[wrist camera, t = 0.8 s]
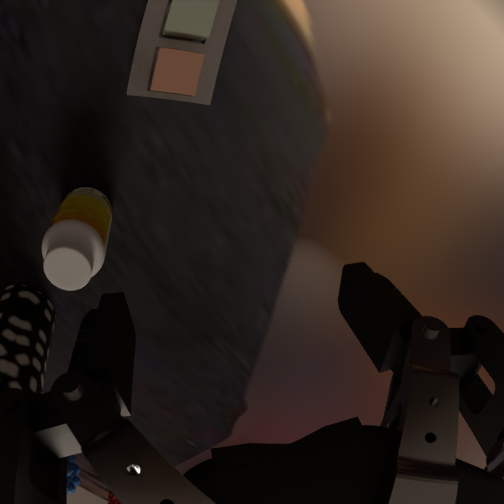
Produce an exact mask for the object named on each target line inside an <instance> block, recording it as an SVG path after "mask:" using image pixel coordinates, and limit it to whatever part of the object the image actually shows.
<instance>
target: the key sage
mask: <svg viewBox="0 0 504 504" xmlns="http://www.w3.org/2000/svg"><path fill="white" fill-rule="evenodd" d="M218 4H219V0H172V3H171V7H170V10H169V14H168V18H167V21H166V25H165V29H164V33H163V35H167V36H174V37H181V38H188V39H194V40H200V41H202V40H204V39H205V38H207V37H209V36H210V32H211V28H212V25H213V21H214V18H215V14H216V11H217V7H218Z"/></svg>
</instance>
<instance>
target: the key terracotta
mask: <svg viewBox="0 0 504 504" xmlns="http://www.w3.org/2000/svg"><path fill="white" fill-rule="evenodd" d="M204 55H205V54H201V53H195V52H189V51H183V50H176V49H169V48H161V47H160V49H159V53H158V57H157V62H156V66H155V71H154V75H153V80H152V85H151V90H153V91H161V92H170V93H177V94H185V95H191V96H195V93H196V88H197V84H198V80H199V75H200V71H201V67H202V63H203V59H204Z"/></svg>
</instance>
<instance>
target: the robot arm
mask: <svg viewBox="0 0 504 504" xmlns="http://www.w3.org/2000/svg"><path fill="white" fill-rule="evenodd" d="M338 304H339V309H340V312H341V314H342V316H343V317H344V319H345V320H346V322H347V323H348V324H349V326H350V328H351V329H352V331H353V332H354V334H355V335H356V337H357V339H358V340H359V342H360V343H361V345H362V346H363V348H364V349H365V351H366V352H367V354H368V356H369V357H370V359H371V360H372V362H373V363H374V365H375V367H376V368H377V370H378V371H379V373H381V372H384V371H387V370H390V369H391V370H392V372H393V375H392V378H391V382H390V387H389V392H388V397H387V402H386V406H385V410H384V415H383V419H382V421H381V424H380V426H373V425H364V426H363V425H362V424H361V422H360V421H359V419H358V417H355V418H351V419H348V420H345V421H341V422H338V423H335V424H331V425H327V426H324V427H322V428H321V429H319V430H317V431H315V432H313V433H311V434H309V435H307V436H305V437H303V438H301V439H300V440H297V441H295V442H293V443H289V444H261V443H247V444H240V445H234V446H227V447H220V448H212V449H211V453H212V458H211V459H209V460H206V461H204V462H202V463H200V464H198V465H196V466H195V467H193V468H191V469H190V470H188V471H187V472H186V473H185V474H184V475H182V474H181V473H180V472H179V471H178V470H177V469H176V468H175V467H174V466H173V465H172V464H170V463H169V462H168V461H167V460H166V459H165V458H164V457H163V456H162V455H161V454H160V453H159V452H158V451H157V450H156V449H155V448H154V447H153V446H152V445H151V444H150V442H149V441H148V440H147V439H146V438H145V437H144V436H143V435H142V434H141V433H140V432H139V431H138V430H137V429H136V427H135V426H134V425H133V424H132V423H131V422H130V421H129V420H128V419H124V418H123V417H122V416H131V401H132V384H133V369H134V357H135V346H136V335H135V328H134V324H133V321H132V318H131V315H130V311H129V308H128V304H127V301H126V297H125V295H124V293H123V292H117V293H108V294H102V296H101V300H100V303H99V307H98V309H91V310H90V311H89V312H88V313H87V314H86V316H85V317H84V318H83V319H82V322H81V326H80V329H79V331H80V332H78V336H77V341H76V343H75V346H74V350H73V353H72V357H71V361H70V365H69V368H68V372H67V373H64V374H62V375H61V376H60V377H58V378H57V379H56V380H55V382H54V383H53V385H52V387H51V391H49V392H47V393H43V394H40V395H36V396H33V397H29V398H28V396H27V395H26V394H25V392H24V391H23V390H21V389H19V388H9V389H6V390H4V391H2V392H1V393H0V504H67V502H66V501H67V499H66V497H67V496H66V495H67V458H68V456H70V455H74V454H77V453H81V452H83V454H84V456H85V457H86V459H87V460H88V461H89V463H90V464H91V466H92V467H93V468H94V470H95V471H96V472H97V474H98V475H99V476H100V478H101V479H102V480H103V482H104V483H105V484H106V486H107V487H108V488H109V489H110V491H111V492H112V493H113V494H114V496H115V497H116V498H117V499H118V500H119V502H120V503H121V504H504V333H503V332H502V331H501V330H500V329H499V328H498V327H497V325H495V323H494V322H493V321H491V320H490V319H488V318H486V317H484V316H480V315H474V316H471V317H469V318H468V320H467V322H466V325H465V327H464V328H448V327H447V325H446V324H445V323H444V322H443V321H441V320H439V319H438V318H435V317H432V316H422V315H421V314H420V313H419V312H418V311H417V310H416V309H415V308H414V306H413V305H412V304H411V303H410V302H409V301H408V300H407V299H406V298H405V297H404V296H403V295H402V294H401V292H400V291H399V290H398V289H396V287H395V286H394V285H393V284H392V283H391V282H390V280H388V279H387V278H385V277H384V276H382V275H380V274H379V273H374V272H373V271H372V270H371V268H370V267H369V266H368V265H367V264H366V263H365V262H359V263H353V264H347V265H344V267H343V270H342V276H341V284H340V290H339V297H338ZM481 366H483V367H484V368H485V369H486V371H487V372H488V373H489V375H490V376H491V377H492V379H493V380H494V382H495V392H494V394H493V395H492V393H491V392H490V391H489V389H488V388H487V386H486V385H485V384H484V382H483V381H482V379H481V378H480V377H479V375H478V374H477V373H478V371H479V370H480V368H481ZM459 411H460V413H461V414H462V416H463V417H464V419H465V421H466V422H467V424H468V426H469V427H470V429H471V431H472V432H473V434H474V436H475V437H476V439H477V441H478V443H479V444H480V446H481V448H482V450H483V451H484V453H485V455H486V456H487V458H486V464H487V466H486V467H485V468H484V469H481V468H479V467H476V466H474V465H471V464H469V463H466V462H464V461H462V460H459V459H457V458H456V450H457V437H458V419H459Z"/></svg>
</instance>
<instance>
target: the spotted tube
mask: <svg viewBox="0 0 504 504" xmlns="http://www.w3.org/2000/svg"><path fill="white" fill-rule="evenodd" d="M54 323H55V311H54V308H53V306H52V304H51V303H50V301H49V300H48V299H47V298H46V297H45V296H44V295H43V294H42V293H41V292H39V291H38V290H36V289H34V288H32V287H29V286H26V285H21V284H15V285H10V286H8V287H6V288H5V289H4V290H3V291H2V292H1V294H0V393H1V392H2V391H4V390H6V389H9V388H19V389H21V390H23V391H24V392H25V394H26V395H27V396H28V398H29V397H33V396H36V395H40V394H42V392H43V384H44V377H45V371H46V365H47V359H48V353H49V348H50V343H51V338H52V333H53V328H54Z"/></svg>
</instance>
